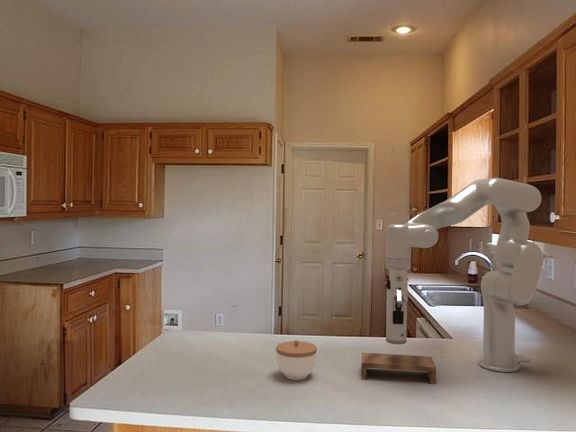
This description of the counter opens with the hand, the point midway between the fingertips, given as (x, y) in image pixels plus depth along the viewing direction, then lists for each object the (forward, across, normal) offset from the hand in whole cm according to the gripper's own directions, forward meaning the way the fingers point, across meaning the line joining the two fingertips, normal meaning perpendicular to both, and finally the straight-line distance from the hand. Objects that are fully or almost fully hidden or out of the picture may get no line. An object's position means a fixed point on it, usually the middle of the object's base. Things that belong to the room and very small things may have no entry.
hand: (397, 320), depth 143 cm
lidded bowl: (+18, -6, +31) cm, 36 cm away
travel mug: (+7, 0, 0) cm, 7 cm away
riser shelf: (+17, 0, 0) cm, 17 cm away
